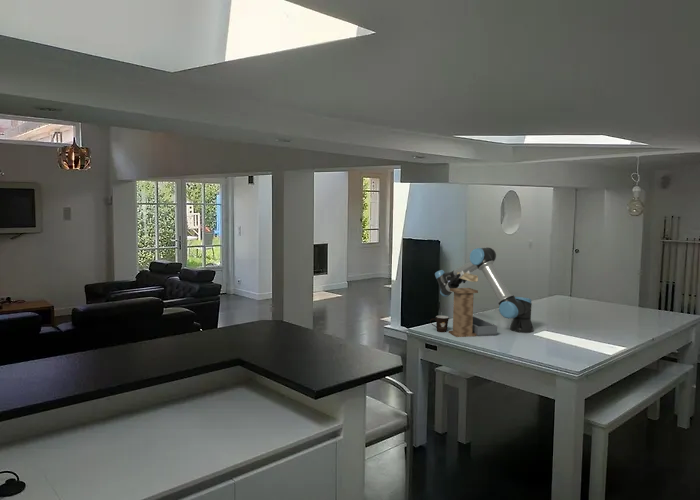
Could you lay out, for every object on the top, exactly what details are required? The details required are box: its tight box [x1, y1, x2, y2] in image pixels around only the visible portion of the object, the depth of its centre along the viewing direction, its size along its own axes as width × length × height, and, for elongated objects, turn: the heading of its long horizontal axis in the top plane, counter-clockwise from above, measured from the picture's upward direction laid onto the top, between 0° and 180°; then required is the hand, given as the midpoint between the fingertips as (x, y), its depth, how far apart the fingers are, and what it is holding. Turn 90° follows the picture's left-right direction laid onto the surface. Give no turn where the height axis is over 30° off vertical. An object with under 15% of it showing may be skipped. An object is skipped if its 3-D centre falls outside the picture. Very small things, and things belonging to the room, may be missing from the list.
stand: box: [448, 287, 479, 338], centre depth 350 cm, size 14×12×30 cm
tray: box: [472, 315, 498, 337], centre depth 365 cm, size 14×32×6 cm, turn 15°
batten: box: [457, 272, 479, 283], centre depth 369 cm, size 4×22×4 cm, turn 16°
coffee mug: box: [430, 315, 450, 333], centre depth 359 cm, size 12×9×10 cm
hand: (466, 272), depth 370 cm, fingers closed on batten, 4 cm apart
